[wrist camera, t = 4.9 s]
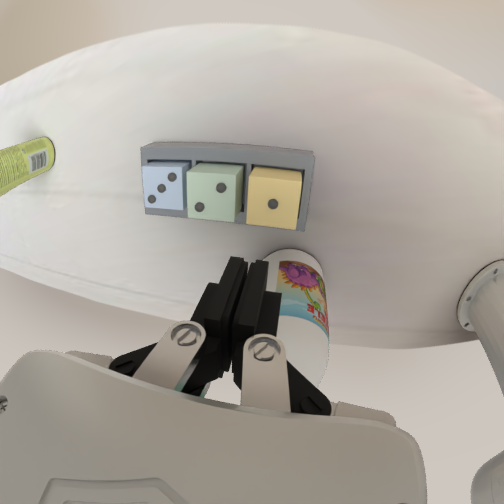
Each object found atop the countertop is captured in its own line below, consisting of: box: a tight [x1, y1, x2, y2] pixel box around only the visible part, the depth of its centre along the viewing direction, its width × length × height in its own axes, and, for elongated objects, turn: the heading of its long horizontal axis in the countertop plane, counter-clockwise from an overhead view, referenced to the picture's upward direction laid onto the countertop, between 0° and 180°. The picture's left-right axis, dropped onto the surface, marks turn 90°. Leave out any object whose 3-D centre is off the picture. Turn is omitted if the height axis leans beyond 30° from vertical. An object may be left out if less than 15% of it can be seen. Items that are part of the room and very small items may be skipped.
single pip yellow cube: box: [246, 166, 302, 230], centre depth 23 cm, size 4×4×4 cm
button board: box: [141, 142, 315, 231], centre depth 26 cm, size 16×7×3 cm, turn 86°
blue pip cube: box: [142, 159, 192, 210], centre depth 25 cm, size 4×4×4 cm
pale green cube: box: [187, 163, 244, 223], centre depth 23 cm, size 4×4×4 cm
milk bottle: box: [263, 249, 329, 388], centre depth 23 cm, size 8×8×20 cm
